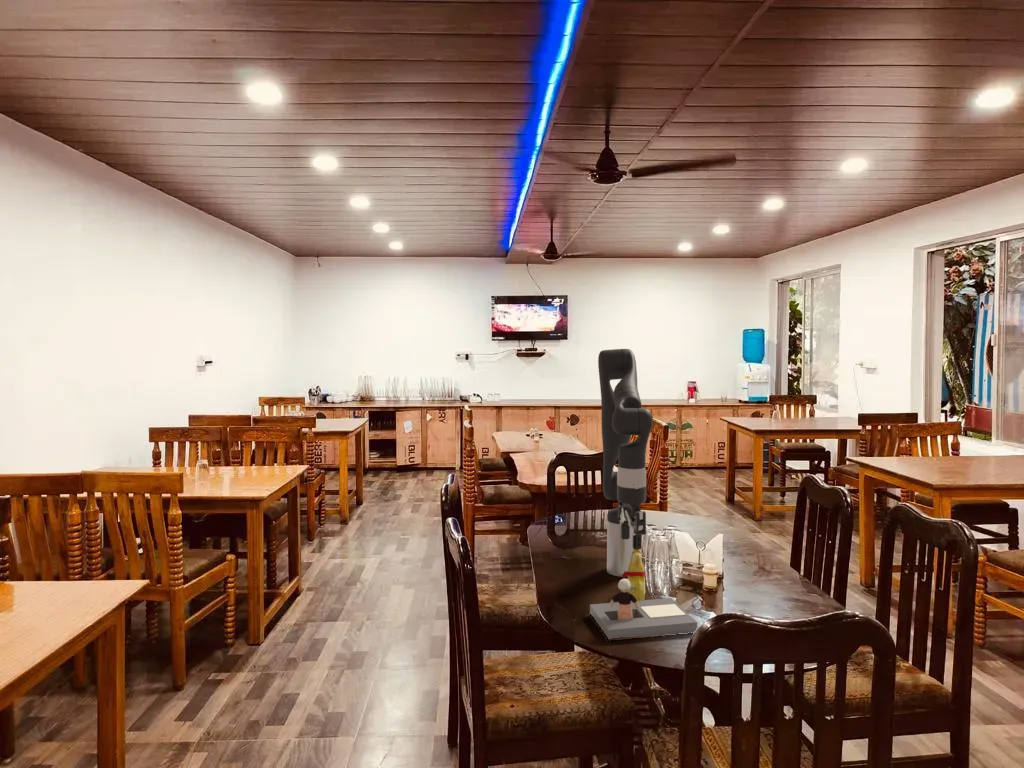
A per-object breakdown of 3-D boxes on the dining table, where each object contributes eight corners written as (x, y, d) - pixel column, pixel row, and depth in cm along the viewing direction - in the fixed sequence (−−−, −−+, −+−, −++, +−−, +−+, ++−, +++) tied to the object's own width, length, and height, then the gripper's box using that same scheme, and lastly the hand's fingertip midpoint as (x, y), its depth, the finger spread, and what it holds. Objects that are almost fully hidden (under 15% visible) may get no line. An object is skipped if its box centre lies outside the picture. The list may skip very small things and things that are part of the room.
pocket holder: (589, 615, 178) (589, 603, 178) (670, 608, 182) (671, 597, 182) (608, 641, 162) (608, 629, 162) (696, 633, 167) (697, 621, 167)
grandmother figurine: (636, 622, 174) (636, 576, 173) (639, 628, 170) (640, 581, 169) (608, 622, 173) (608, 576, 173) (610, 629, 170) (611, 582, 169)
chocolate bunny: (642, 588, 197) (643, 540, 196) (647, 603, 186) (647, 552, 185) (620, 587, 198) (620, 540, 197) (623, 602, 187) (623, 551, 186)
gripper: (608, 478, 175) (608, 536, 176) (627, 490, 161) (627, 553, 162) (635, 477, 176) (634, 535, 178) (656, 489, 162) (655, 551, 164)
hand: (631, 544), depth 170 cm, fingers open, 8 cm apart
